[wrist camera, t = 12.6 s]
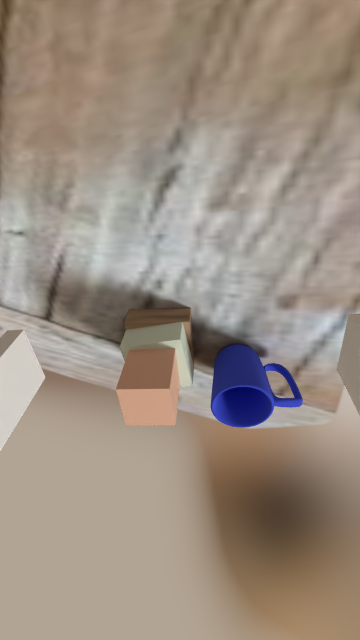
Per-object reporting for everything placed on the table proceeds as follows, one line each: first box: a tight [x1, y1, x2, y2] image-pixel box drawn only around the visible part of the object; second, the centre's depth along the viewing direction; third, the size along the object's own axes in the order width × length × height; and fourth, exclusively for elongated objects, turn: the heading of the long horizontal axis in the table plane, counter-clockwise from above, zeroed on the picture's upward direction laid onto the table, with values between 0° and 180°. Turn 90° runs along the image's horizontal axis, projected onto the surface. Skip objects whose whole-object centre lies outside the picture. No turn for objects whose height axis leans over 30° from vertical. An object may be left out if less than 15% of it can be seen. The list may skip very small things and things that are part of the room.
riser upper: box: [119, 322, 194, 387], centre depth 44 cm, size 8×8×4 cm
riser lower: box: [124, 308, 194, 365], centre depth 47 cm, size 9×9×4 cm
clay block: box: [116, 349, 180, 425], centre depth 39 cm, size 6×6×7 cm
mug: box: [211, 344, 303, 427], centre depth 46 cm, size 8×12×10 cm
